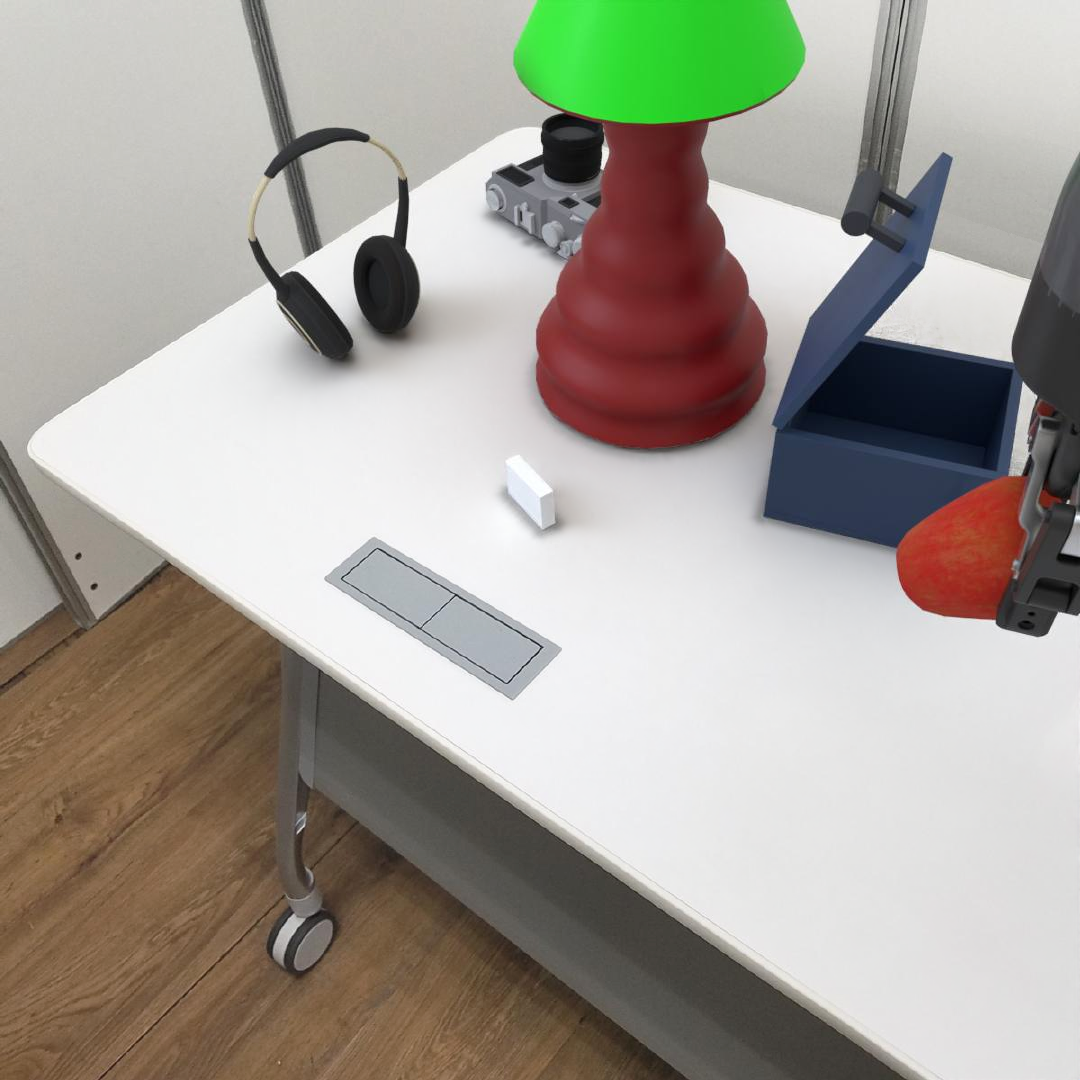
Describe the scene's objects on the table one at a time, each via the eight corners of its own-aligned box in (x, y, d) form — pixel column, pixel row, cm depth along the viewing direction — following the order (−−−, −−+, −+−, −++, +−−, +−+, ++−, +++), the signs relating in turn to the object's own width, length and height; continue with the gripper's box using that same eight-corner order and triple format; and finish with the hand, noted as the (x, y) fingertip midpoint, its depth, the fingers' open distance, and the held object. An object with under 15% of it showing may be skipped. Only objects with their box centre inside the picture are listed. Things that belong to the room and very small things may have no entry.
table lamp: (808, 356, 96) (911, -268, 62) (678, 489, 86) (715, -163, 52) (625, 278, 104) (627, -304, 71) (489, 391, 95) (416, -220, 61)
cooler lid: (953, 157, 71) (888, 118, 71) (924, 267, 64) (851, 224, 63) (818, 323, 84) (762, 290, 84) (780, 430, 77) (719, 395, 76)
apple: (959, 652, 54) (1109, 614, 49) (882, 622, 51) (1035, 577, 45) (944, 537, 57) (1086, 489, 51) (871, 501, 53) (1014, 445, 48)
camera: (676, 148, 101) (598, 186, 97) (668, 244, 109) (595, 283, 104) (549, 87, 111) (472, 118, 106) (549, 179, 118) (477, 212, 113)
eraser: (542, 530, 84) (539, 497, 81) (508, 493, 87) (504, 460, 84) (555, 523, 84) (553, 490, 82) (521, 487, 87) (518, 453, 84)
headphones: (451, 327, 101) (421, 123, 86) (308, 394, 96) (250, 190, 81) (404, 284, 106) (368, 84, 91) (266, 346, 101) (204, 144, 86)
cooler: (994, 450, 87) (1025, 364, 80) (975, 566, 79) (1007, 482, 73) (799, 410, 91) (812, 325, 85) (763, 516, 84) (775, 432, 77)
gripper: (1287, 421, 33) (1106, 718, 46) (1266, 173, 42) (1118, 480, 54) (1024, 375, 35) (920, 671, 48) (1055, 148, 44) (960, 449, 56)
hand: (1026, 568), depth 51 cm, fingers closed on apple, 6 cm apart
